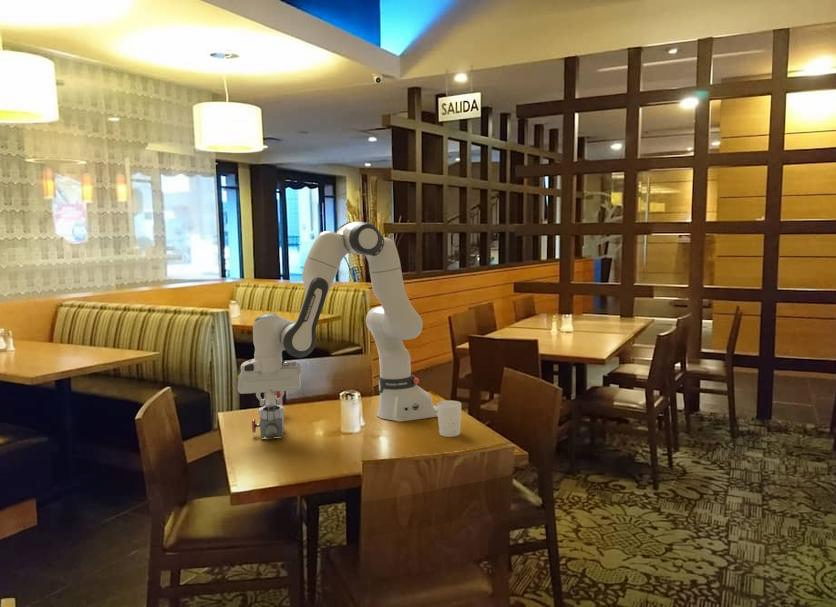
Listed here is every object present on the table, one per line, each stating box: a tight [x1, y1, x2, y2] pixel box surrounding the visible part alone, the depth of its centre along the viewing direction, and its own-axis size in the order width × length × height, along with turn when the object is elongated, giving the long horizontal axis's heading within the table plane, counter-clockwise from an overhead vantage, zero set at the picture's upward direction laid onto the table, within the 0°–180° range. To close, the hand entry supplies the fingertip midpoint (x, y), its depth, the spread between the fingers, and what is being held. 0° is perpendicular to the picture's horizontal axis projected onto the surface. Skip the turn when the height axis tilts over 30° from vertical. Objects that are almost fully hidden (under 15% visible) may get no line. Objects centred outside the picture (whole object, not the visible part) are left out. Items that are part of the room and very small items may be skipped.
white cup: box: [436, 400, 462, 438], centre depth 205 cm, size 8×8×10 cm
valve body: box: [251, 405, 285, 439], centre depth 210 cm, size 10×14×9 cm
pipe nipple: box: [263, 390, 277, 411], centre depth 209 cm, size 4×4×8 cm
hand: (270, 404), depth 209 cm, fingers closed on pipe nipple, 4 cm apart
